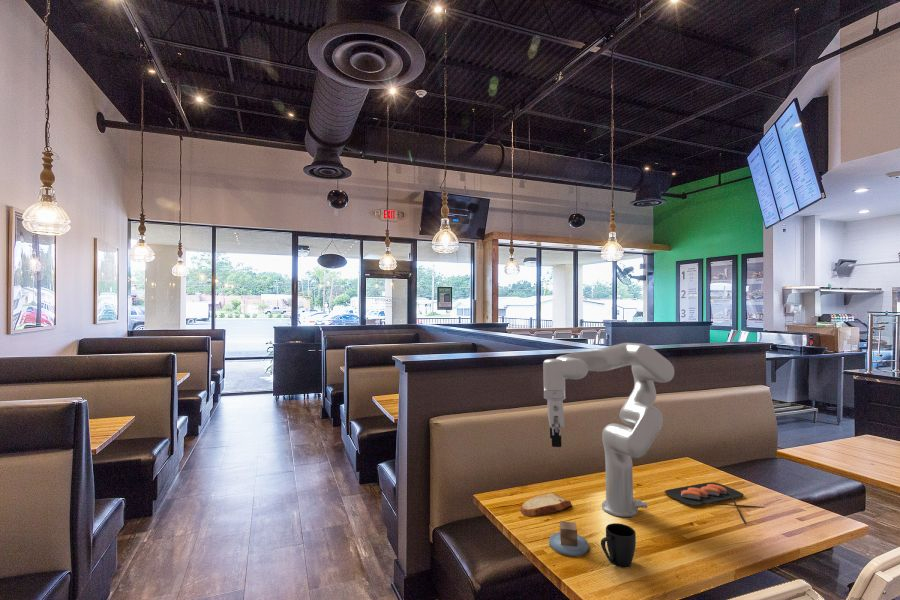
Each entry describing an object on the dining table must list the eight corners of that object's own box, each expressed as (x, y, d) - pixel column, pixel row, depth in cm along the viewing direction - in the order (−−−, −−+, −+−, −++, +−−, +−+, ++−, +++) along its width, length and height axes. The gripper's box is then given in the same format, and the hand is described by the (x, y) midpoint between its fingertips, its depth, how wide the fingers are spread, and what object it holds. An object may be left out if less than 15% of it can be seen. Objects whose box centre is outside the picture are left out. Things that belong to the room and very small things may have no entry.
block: (575, 538, 138) (575, 522, 138) (577, 546, 133) (577, 530, 133) (559, 536, 139) (559, 521, 139) (560, 544, 134) (560, 528, 134)
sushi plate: (714, 485, 183) (714, 476, 183) (789, 517, 155) (789, 506, 155) (661, 495, 174) (660, 485, 174) (730, 530, 146) (730, 519, 146)
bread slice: (518, 516, 157) (518, 505, 157) (525, 496, 174) (525, 486, 174) (569, 523, 151) (569, 512, 151) (571, 502, 168) (571, 492, 168)
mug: (591, 563, 126) (590, 530, 126) (619, 551, 132) (618, 520, 132) (613, 578, 119) (613, 543, 119) (642, 565, 125) (641, 532, 125)
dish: (585, 537, 140) (585, 533, 141) (590, 558, 129) (590, 553, 129) (548, 534, 143) (548, 530, 143) (550, 554, 131) (550, 549, 131)
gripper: (567, 399, 143) (569, 450, 142) (563, 389, 160) (564, 435, 159) (544, 398, 144) (546, 449, 144) (542, 389, 161) (543, 435, 161)
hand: (555, 442), depth 152 cm, fingers open, 9 cm apart
